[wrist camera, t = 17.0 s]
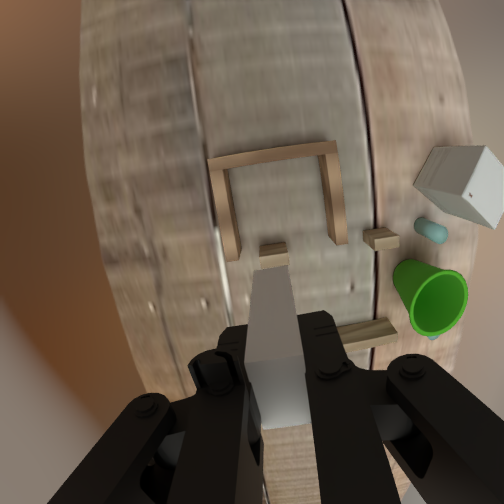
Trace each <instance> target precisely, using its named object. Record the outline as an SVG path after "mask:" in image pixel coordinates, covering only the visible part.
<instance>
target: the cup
mask: <svg viewBox="0 0 504 504" xmlns="http://www.w3.org/2000/svg"><path fill="white" fill-rule="evenodd" d="M393 282H394V285H395V287H396V289H397V291H398V293H399V295H400V297H401V299H402V301H403V303H404V305H405V307H406V309H407V311H408V313H409V317H410V323H411V325H412V327H413V329H414V330H415V331H416V332H417V333H419V334H421V335H423V336H430V337H431V336H437V335H440V334H443V333H445V332H446V331H448V330H449V329H451V328H452V327H453V326H454V325H455V324H456V323H457V321H458V320H459V319H460V318H461V316H462V314H463V312H464V310H465V307H466V304H467V300H468V288H467V284H466V281H465V279H464V278H463V277H462V275H461V274H459V273H458V272H457V271H453V270H443V269H440V268H437V267H434V266H431V265H428V264H425V263H423V262H420V261H417V260H413V259H408V260H405V261H403V262H401V263H400V264H399V265H398V266H397V267H396V269H395V271H394V274H393Z"/></svg>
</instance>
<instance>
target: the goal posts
mask: <svg viewBox="0 0 504 504" xmlns="http://www.w3.org/2000/svg"><path fill="white" fill-rule="evenodd" d="M414 229H415V231H416V232H417V233H419V234H421V235H423V236H425V237H427V238H428V239H430V240H432V241H434V242H436V243H438V244H442V243H444V242H445V241H446V240H447V237H448V231H447V229H446V227H444V226H442V225H439V224H437V223H435V222H432V221H430V220H427V219H425V218H422V217H421V218H418V219H417V220H416V221H415V224H414ZM427 337H428V338H429V339H430V340H435V339H436V338H438V337H439V335H437V336H431V337H430V336H427Z"/></svg>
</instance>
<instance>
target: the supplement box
mask: <svg viewBox="0 0 504 504" xmlns="http://www.w3.org/2000/svg"><path fill="white" fill-rule="evenodd" d="M413 186H414V187H416V188H417V189H418V190H419V191H420V192H422V193H423V194H424V195H425V196H426V197H427V198H429V199H430V200H431V201H432V202H433V203H434V204H435V205H437V206H438V207H439V208H440V209H441V210H442V211H443V212H445V213H448V214H451V215H454V216H457V217H460V218H463V219H466V220H469V221H472V222H474V223H477V224H480V225H483V226H486V227H488V228H491V229H496V226H497V225H498V222H499V220H500V218H501V216H502V214H503V212H504V166H503V165H502V164H501V163H500V161H499V160H498V159H497V158H496V157H495V155H494V154H493V153H492V152H491V150H490V149H489V148H488V147H487V146H486V145H485V146H444V147H434V148H433V150H432V152H431V153H430V155H429V157H428V159H427V161H426V163H425V165H424V167H423V168H422V170H421V172H420V174H419V176H418V177H417V179H416V181H415V183H414V185H413Z"/></svg>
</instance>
